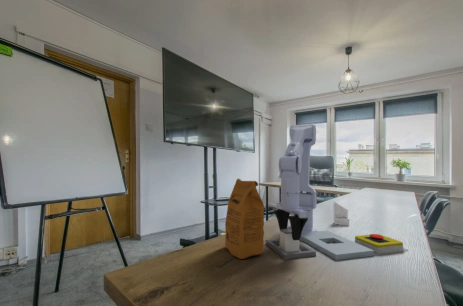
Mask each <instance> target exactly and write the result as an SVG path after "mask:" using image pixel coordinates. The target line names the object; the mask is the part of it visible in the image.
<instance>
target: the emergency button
mask: <svg viewBox="0 0 463 306" xmlns="http://www.w3.org/2000/svg"><path fill="white" fill-rule="evenodd" d="M354 242H355V243H358V244H360V245H362V246H365V247H367V248H369V249H372V250H374V256H375V255H376V256H377V255H378V256H380V255H386V254H394V253H402V252H408V251H409V249H408V248H405V247H404V242H403V241H400V240H398V239H394V238H392V237H389V236H386V235H382V234H380V233H379V234H378V233H370V234H362V235H355V237H354Z"/></svg>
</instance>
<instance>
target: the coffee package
mask: <svg viewBox="0 0 463 306" xmlns="http://www.w3.org/2000/svg"><path fill="white" fill-rule="evenodd" d="M258 183H259V182H258V181H256V180H242V179H240V178H237V179H236V181H235V184H234V185H233V188H232V191H231V194H230V196H229V199H228V200H229V201H228V202H227V210H226V217H225V224H224V226H225V227H224V228H225V236H224V237H225V238H224V239H225V241H224V242H225V244H224V248H225V249H227V250H228V251H229V253H230V255H231V256H233V257H236V258H238V259H239V260H244V259H247V258H249V257H252V256H258V255H261V254H263V253H264V236H265V235H264V234H265V232H264V227H265V226H264V225H265V216H264V215H265V205H264V202H263V200H262V197H261V196H260V193H259V192H258V189H257V187H258V186H259V184H258Z"/></svg>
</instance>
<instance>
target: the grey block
mask: <svg viewBox="0 0 463 306" xmlns="http://www.w3.org/2000/svg"><path fill="white" fill-rule="evenodd" d="M279 239H280V244H279V248H281V249H282V250H283V251H285V252H286V253H290V252H300V248H299V243H300V241H301V240H293V238H292V229H291V228H287V229H279Z"/></svg>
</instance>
